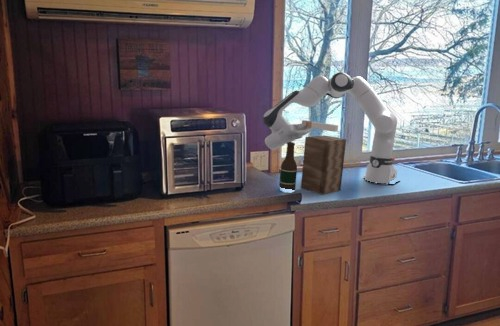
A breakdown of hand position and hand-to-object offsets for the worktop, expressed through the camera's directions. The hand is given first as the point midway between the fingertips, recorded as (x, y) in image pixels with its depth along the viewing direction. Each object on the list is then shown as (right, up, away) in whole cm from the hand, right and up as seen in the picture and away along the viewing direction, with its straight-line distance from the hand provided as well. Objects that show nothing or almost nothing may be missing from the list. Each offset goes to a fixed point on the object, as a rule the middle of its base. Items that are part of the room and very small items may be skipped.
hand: (308, 123), depth 231 cm
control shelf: (+6, -33, -1) cm, 34 cm away
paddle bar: (+5, -3, -4) cm, 7 cm away
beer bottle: (-12, -34, -11) cm, 38 cm away
